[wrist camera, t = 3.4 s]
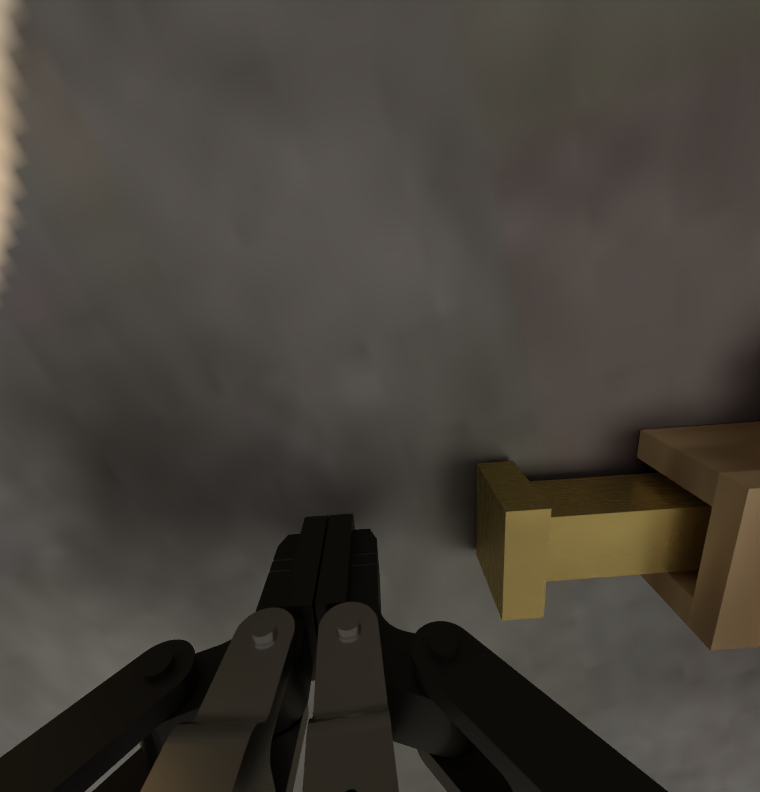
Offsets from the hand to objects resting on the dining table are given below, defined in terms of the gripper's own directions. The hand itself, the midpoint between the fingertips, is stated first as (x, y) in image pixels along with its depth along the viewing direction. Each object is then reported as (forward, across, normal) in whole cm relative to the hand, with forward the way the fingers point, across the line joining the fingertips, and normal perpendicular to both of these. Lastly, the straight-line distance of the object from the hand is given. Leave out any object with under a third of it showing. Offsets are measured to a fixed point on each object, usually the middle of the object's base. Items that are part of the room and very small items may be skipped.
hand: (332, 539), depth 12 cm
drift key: (+1, -9, 0) cm, 9 cm away
